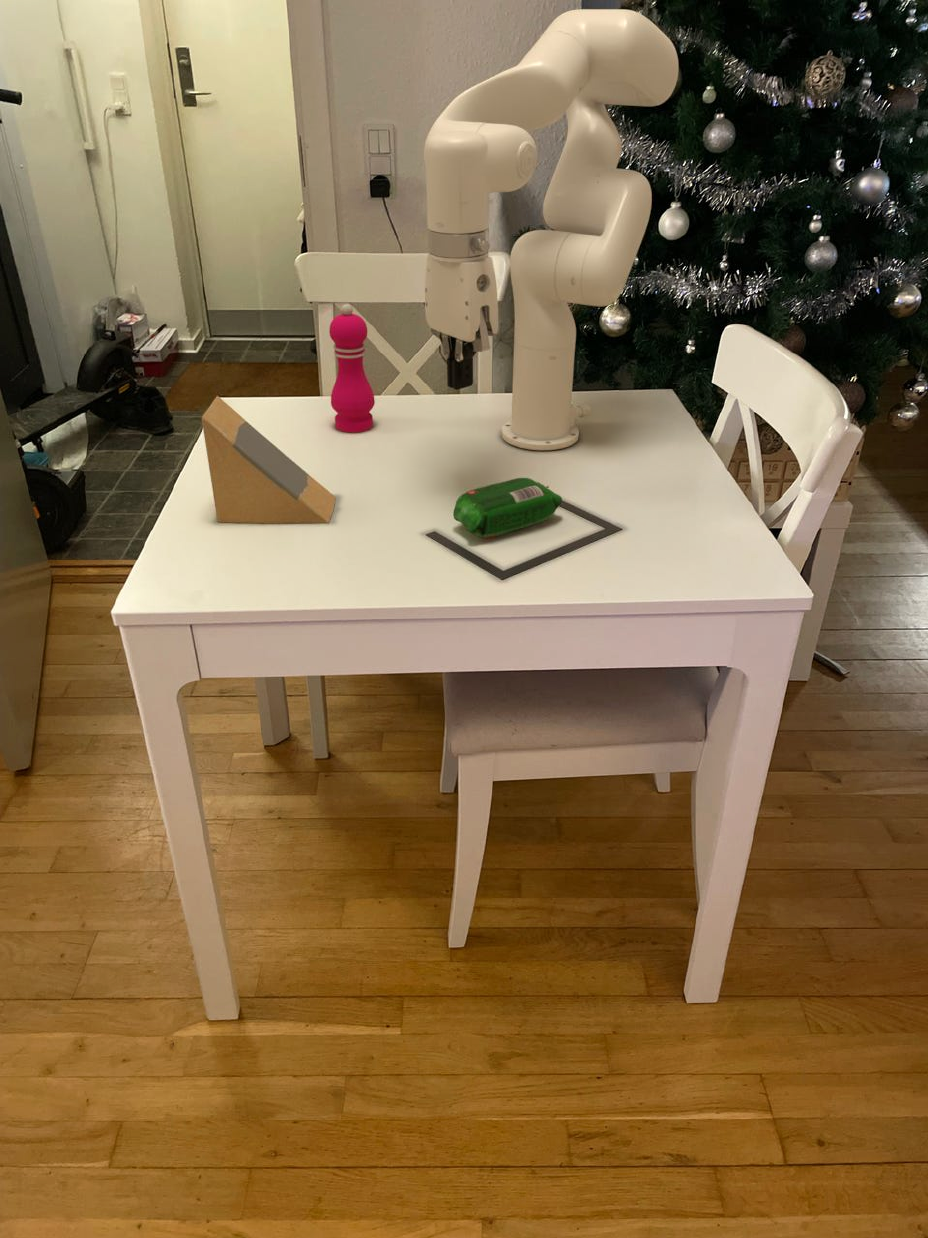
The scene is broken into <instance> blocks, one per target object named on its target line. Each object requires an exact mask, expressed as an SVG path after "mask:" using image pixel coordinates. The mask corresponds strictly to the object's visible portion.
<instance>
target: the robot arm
mask: <svg viewBox="0 0 928 1238" xmlns="http://www.w3.org/2000/svg"><path fill="white" fill-rule="evenodd" d="M679 70H680V69H679V57H678V53H677V50H676V47H675V45H674V43H673V42H672V40H671V39H670V38H669V37H668V36H667V35H666V34H665V33H664V32H663V31H662V30H661V29H660V28H659V27H658V26H657V25H656V24H654V22H652V21H651V20H650V19H649V18H647V17H646V16H645V15H643V14H641V13H640V12H638V11H635V10H632V9H623V8H622V9H621V8H620V9H618V8H615V9H613V8H610V9H608V8H604V9H603V8H600V9H599V8H597V9H595V8H589V9H588V8H581V9H572V10H567V11H566V12H564V13H561V14H559V15H558V16H557V17H556V18H555V19H554V20H553V21H552V22H551V23H550V24H549V25H548V27H547V28H546V30H545V31H544V32H543V33H542V34H541V35H540V37H539V38H538V40H537V41H536V42H535V43H534V45H533V46H532V47H531V48H530V49H529V50H528V52H527V53H526V54H525V55H524V57H523V58H522V59H521V60H520V62H519V63H518V64H517V65H515V66H512V67H511V68H508V69H506V70H503V71H501V72H500V73H497V74H495V75H494V76H492V77H490V78H488V79H486V80H483V81H482V82H479V83H477V84H476V85H475V84H474V85H473V86H471V87H470V88H468V89H466V90H465V91H463V92H461V93H459V94H458V95H457V96H456V97H455V98H454V99H453V100H452V101H451V102H450V103H449V104H448V105H447V106H446V107H445V109H444V110H443V111H442V112H441V113H440V115H439V116H438V117H437V118H436V119H435V122H434V123H433V125H432V126H431V128H430V130H429V131H428V134H427V137H426V138H425V139H426V140H425V143H424V149H423V161H424V162H423V163H424V166H425V176H426V177H425V183H426V185H425V186H426V215H427V216H426V217H427V249H428V250H427V251H428V252H427V257H426V267H425V280H424V311H425V322H426V324H427V325H428V326H429V327H430V332H431V334H432V335H433V336H434V337H436V338H437V339H438V340H439V341H440V342H441V344H442V350H443V355H444V357H445V358H446V376H447V377H446V378H447V380H446V381H447V383H446V384H447V387H449V388H450V389H453V390H455V391H458V390H462V389H465V388H468V387H471V386H473V384H474V358H476V357H477V353H482V352H485V351H489V350H490V348H491V345H490V338H489V337H494V336H497V334H498V332H499V300H498V299H499V298H498V288H497V287H498V286H497V279H496V273H495V272H496V271H495V266H494V262H493V257H491V256H489V250H490V246H491V244H490V241H489V235H490V233H489V226H490V225H489V221H490V220H489V219H490V218H489V215H490V214H489V211H490V210H489V208H490V207H489V201H490V200H489V196H490V194H491V193H492V194H493V193H510V192H515V191H517V190H519V189H522V187H524V186H525V185H526V184H528V182H529V181H530V180H531V179H532V177H533V175H534V173H535V171H536V167H537V162H538V150H537V145H536V142H535V140H534V138H533V137H532V135H531V134H530V133H529V132H532V131H535V130H540V129H541V128H545V127H548V126H550V125H553V124H555V123H556V122H558V121H559V120H561V119H562V118H563V116H564V115H565V113H566V122H567V135H566V140H565V142H564V146H563V148H562V152H561V153H560V158H559V159H558V162H557V165H556V167H555V170H554V172H553V175H552V177H551V179H550V182H549V185H548V187H547V190H546V193H545V197H544V200H543V205H542V215H543V216H542V217H543V219H544V221H545V223H546V225H547V226H548V227H549V228H551V229H536V230H535V229H534V230H532V231H531V230H530V231H528V232H525V233H524V234H522V235H521V236H520V237H518V239H517V240H516V241H515V242H514V244H513V246H512V248H511V252H510V256H509V274H510V280H511V281H510V282H511V288H512V294H513V309H514V310H513V311H514V330H513V332H514V335H513V340H514V341H513V360H512V361H513V364H512V390H511V392H512V393H511V395H512V396H511V420H509V421H508V422H506V423H504V424H503V425H502V427H501V438H502V439H503V440H504V441H505V442H506V443H508V444H509V445H511V446H514V447H516V448H520V449H525V450H530V451H554V450H561V449H565V448H568V447H571V446H573V445H574V444H576V443H577V441H578V440H579V437H580V430H579V429H578V427H577V426H576V425H575V422H576V421H577V420H578V418H579V419H580V418H584V417H587V416H589V415H590V413H591V407H590V405H589V404H588V403H583V404H581V405H577V406H574V405H573V404H572V396H573V383H574V370H575V352H576V341H577V327H576V322H575V319H574V316H573V313H572V311H571V309H570V307H569V305H568V303H570V304H577V305H584V306H590V307H591V306H592V307H608V306H610V305H612V304H614V303H615V302H616V301H617V300H618V299H619V297H620V296H621V294H622V292H623V290H624V288H625V286H626V283H627V281H628V278H629V276H630V273H631V270H632V267H633V265H634V262H635V259H636V257H637V255H638V252H639V249H640V246H641V244H642V241H643V239H644V236H645V234H646V230H647V227H648V225H649V224H648V223H649V220H650V215H651V210H652V201H653V199H652V196H653V194H652V188H651V184H650V182H649V180H648V179H647V177H646V176H644V175H643V174H642V173H641V172H638V171H636V170H633V169H625V168H618V165H619V161H620V158H621V156H622V152H623V144H622V140H621V136H620V134H619V131H618V128H617V127H616V125H615V123H614V122H613V120H612V119H611V117H610V116H609V113H608V111H607V109H606V105H613V106H633V107H656V106H660V105H662V104H664V103H665V102H666V101H668V100H669V98H670V97H671V96H672V95H673V92H674V90H675V88H676V85H677V82H678V77H679Z"/></svg>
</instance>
